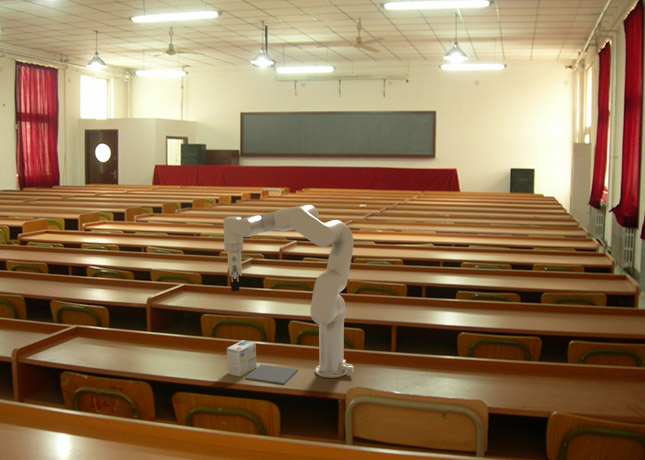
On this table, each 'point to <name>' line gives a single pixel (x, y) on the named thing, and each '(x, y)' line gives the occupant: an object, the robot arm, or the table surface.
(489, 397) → the table surface
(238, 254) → the robot arm
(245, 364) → the light bulb box
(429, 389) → the table surface
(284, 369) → the mat
